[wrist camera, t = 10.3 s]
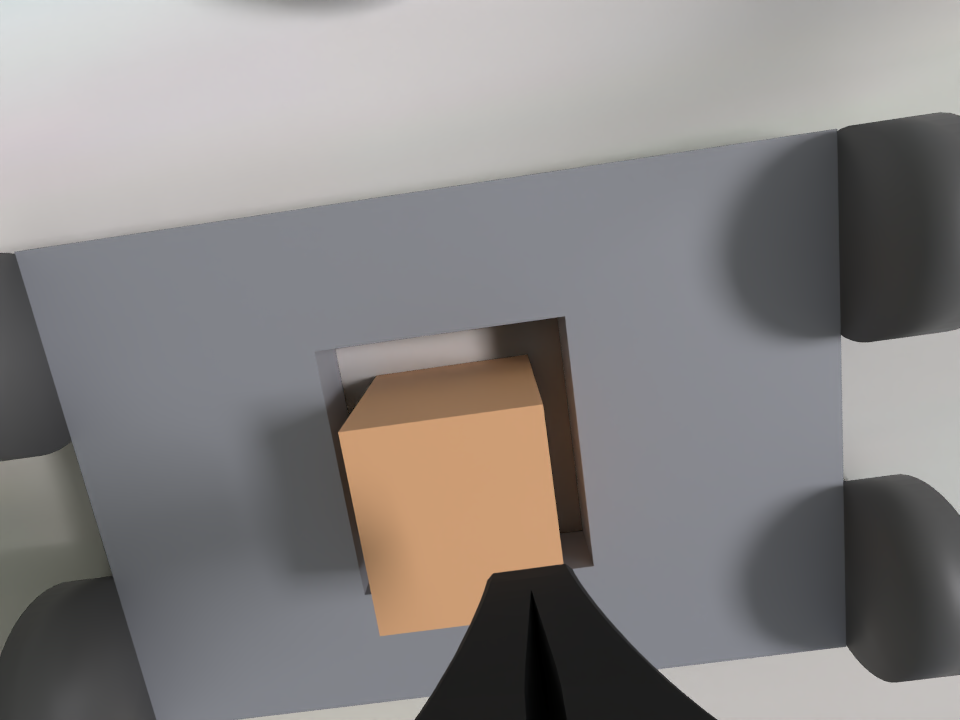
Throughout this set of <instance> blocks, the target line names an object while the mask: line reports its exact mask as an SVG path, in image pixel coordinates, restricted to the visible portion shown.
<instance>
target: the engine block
mask: <svg viewBox="0 0 960 720" xmlns="http://www.w3.org/2000/svg"><path fill="white" fill-rule="evenodd" d="M338 434H339V439H340V444H341V449H342V454H343V459H344V463H345V468H346V473H347V478H348V483H349V488H350V493H351V498H352V502H353V507H354V512H355V517H356V522H357V527H358V532H359V536H360V541H361V546H362V551H363V556H364V561H365V566H366V571H367V575H368V580H369V585H370V590H371V595H372V600H373V605H374V610H375V614H376V619H377V624H378V629H379V634H380V636H386V635H394V634H402V633H410V632H418V631H426V630H434V629H442V628H450V627H458V626H466V625H470V623H471V621H472V619H473V617H474V614H475V612H476V610H477V608H478V605H479V603H480V600H481V598H482V595H483V592H484V589H485V586H486V583H487V580H488V579H489V577H490V576H491V575H492V574H493V573H499V572H507V571H514V570H522V569H529V568H537V567H544V566H552V565H560V564H563V556H562V548H561V540H560V533H559V525H558V517H557V509H556V501H555V494H554V486H553V478H552V470H551V463H550V455H549V447H548V439H547V431H546V424H545V416H544V408H543V403H542V399H541V396H540V393H539V390H538V387H537V383H536V380H535V377H534V374H533V371H532V367H531V364H530V361H529V358H528V355H520V356H513V357H506V358H499V359H491V360H484V361H477V362H470V363H463V364H456V365H449V366H442V367H435V368H427V369H420V370H413V371H406V372H399V373H392V374H385V375H378V376H376V377H375V379H374V380H373V382H372V383H371V385H370V386H369V388H368V389H367V391H366V392H365V394H364V395H363V396H362V398H361V399H360V401H359V402H358V404H357V405H356V407H355V408H354V410H353V411H352V413H351V414H350V416H349V417H348V419H347V420H346V422H345V423H344V424H343V426H342V427H341V429H340V430H339V432H338Z"/></svg>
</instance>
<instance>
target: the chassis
mask: <svg viewBox="0 0 960 720" xmlns="http://www.w3.org/2000/svg"><path fill="white" fill-rule="evenodd" d="M556 317H558V326H559V334H560V343H561V351H562V360H563V368H564V377H565V385H566V394H567V402H568V411H569V419H570V428H571V436H572V445H573V453H574V462H575V470H576V479H577V487H578V495H579V504H580V512H581V521H582V529H583V531H577V532H569V533H562V534H560V540H561V548H562V556H563V564H566V565H568V566H569V567H570V568H572V569H573V571H574V573H575V575H576V576H577V578H578V579H579V581H580V583H581V584H582V585H583V587H584V588H585V590H586V591H587V593H588V594H589V595H590V596H591V598H592V599H593V600H594V602H595V603H596V604H597V606H598V607H599V608H600V609H601V610H602V612H603V613H604V614H605V615H606V617H607V618H608V619H609V620H610V621H611V622H612V623H613V624H614V625H615V627H616V628H617V629H618V630H619V631H620V632H621V633H622V634H623V636H624V637H625V638H626V639H627V640H628V641H629V642H630V643H631V644H632V645H633V646H634V647H635V648H636V649H637V650H638V651H639V652H640V653H641V654H642V655H643V656H644V657H645V658H646V659H647V660H648V661H649V662H650V663H651V664H652V665H653V666H654V667H655V668H656V669H663V668H672V667H680V666H688V665H697V664H705V663H713V662H722V661H730V660H738V659H747V658H755V657H763V656H772V655H780V654H788V653H797V652H805V651H813V650H822V649H830V648H838V647H846V645H847V647H848V648H849V650H850V651H851V652H852V654H853V655H854V656H855V657H856V659H857V660H858V661H859V662H860V663H861V664H862V665H863V666H864V667H865V668H866V669H867V670H868V671H869V672H870V673H872V674H873V675H875V676H876V677H878V678H880V679H882V680H884V681H887V682H904V681H912V680H921V679H929V678H938V677H946V676H955V675H960V515H959V514H958V513H957V512H956V510H955V509H954V508H953V506H952V505H951V504H950V503H949V502H948V501H947V500H946V499H945V498H944V497H943V496H942V495H941V494H940V493H939V492H937V491H936V490H935V489H934V488H933V487H931V486H930V485H928V484H927V483H925V482H924V481H922V480H920V479H918V478H915V477H912V476H909V475H902V474H899V475H890V476H882V477H874V478H866V479H859V480H851V481H843V435H842V378H841V335H842V336H844V337H845V338H848V339H850V340H852V341H856V342H874V341H881V340H888V339H896V338H903V337H910V336H918V335H925V334H932V333H939V332H947V331H951V330H956V329H958V328H960V116H959V115H955V114H952V113H941V112H940V113H932V114H925V115H919V116H912V117H905V118H898V119H892V120H885V121H878V122H872V123H865V124H858V125H852V126H847V127H845V128H842V129H840V130H839V131H837V129H833V130H826V131H819V132H813V133H806V134H799V135H793V136H786V137H779V138H773V139H766V140H759V141H753V142H746V143H739V144H733V145H726V146H719V147H712V148H706V149H699V150H692V151H686V152H679V153H672V154H666V155H659V156H652V157H646V158H639V159H632V160H626V161H619V162H612V163H605V164H599V165H592V166H585V167H579V168H572V169H565V170H559V171H552V172H545V173H539V174H532V175H525V176H519V177H512V178H505V179H498V180H492V181H485V182H478V183H472V184H465V185H458V186H452V187H445V188H438V189H432V190H425V191H418V192H412V193H405V194H398V195H391V196H385V197H378V198H371V199H365V200H358V201H351V202H345V203H338V204H331V205H325V206H318V207H311V208H305V209H298V210H291V211H284V212H278V213H271V214H264V215H258V216H251V217H244V218H238V219H231V220H224V221H218V222H211V223H204V224H198V225H191V226H184V227H177V228H171V229H164V230H157V231H151V232H144V233H137V234H131V235H124V236H117V237H111V238H104V239H97V240H91V241H84V242H77V243H71V244H64V245H57V246H50V247H44V248H37V249H30V250H24V251H17V252H15V254H12V253H0V461H6V460H13V459H21V458H28V457H35V456H42V455H46V454H50V453H53V452H55V451H57V450H60V449H61V448H63V447H64V446H66V445H67V444H68V443H70V442H71V441H72V443H73V446H74V450H75V453H76V456H77V460H78V463H79V466H80V470H81V473H82V476H83V479H84V483H85V486H86V489H87V493H88V496H89V499H90V503H91V506H92V509H93V512H94V516H95V519H96V522H97V526H98V529H99V532H100V535H101V539H102V542H103V545H104V549H105V552H106V555H107V559H108V562H109V565H110V568H111V572H112V575H113V576H109V577H101V578H94V579H86V580H78V581H71V582H64V583H61V584H58V585H55V586H53V587H52V588H50V589H48V590H46V591H45V592H44V593H42V594H41V595H40V596H38V597H37V598H36V599H35V600H34V601H33V602H32V603H31V604H30V605H29V606H28V607H27V609H26V610H25V611H24V612H23V614H22V615H21V616H20V618H19V619H18V621H17V622H16V624H15V625H14V627H13V629H12V631H11V633H10V635H9V637H8V639H7V641H6V643H5V646H4V648H3V650H2V653H1V656H0V720H238V719H246V718H255V717H263V716H271V715H280V714H288V713H296V712H305V711H313V710H321V709H330V708H338V707H346V706H355V705H363V704H371V703H380V702H388V701H396V700H405V699H413V698H421V697H430V696H431V694H432V693H433V691H434V689H435V688H436V686H437V684H438V683H439V681H440V679H441V678H442V676H443V674H444V673H445V671H446V669H447V668H448V666H449V664H450V662H451V661H452V659H453V657H454V655H455V653H456V652H457V650H458V647H459V645H460V643H461V641H462V639H463V637H464V635H465V633H466V631H467V629H468V627H469V625H466V626H458V627H450V628H442V629H434V630H426V631H418V632H410V633H402V634H394V635H386V636H380V634H379V629H378V624H377V619H376V614H375V610H374V605H373V600H372V595H371V590H370V585H369V580H368V575H367V571H366V566H365V561H364V556H363V551H362V546H361V541H360V536H359V532H358V527H357V522H356V517H355V512H354V507H353V502H352V498H351V493H350V488H349V483H348V478H347V473H346V468H345V463H344V459H343V454H342V449H341V444H340V439H339V434H338V432H339V430H340V429H341V427H342V426H343V424H344V423H345V422H346V420H347V419H348V411H347V406H346V401H345V396H344V391H343V386H342V381H341V376H340V371H339V366H338V361H337V356H336V351H335V349H336V348H343V347H350V346H357V345H364V344H371V343H378V342H386V341H393V340H400V339H407V338H414V337H421V336H428V335H435V334H442V333H449V332H456V331H464V330H471V329H478V328H485V327H492V326H499V325H506V324H513V323H520V322H527V321H534V320H542V319H549V318H556Z"/></svg>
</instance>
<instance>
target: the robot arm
mask: <svg viewBox="0 0 960 720" xmlns="http://www.w3.org/2000/svg"><path fill="white" fill-rule="evenodd" d="M415 720H717V719H715V718H714V717H713V716H711V715H710V714H709V713H707V712H706V711H705V710H704V709H702V708H701V707H700V706H699V705H697V704H696V703H695V702H694V701H693V700H691V699H690V698H689V697H688V696H686V695H685V694H684V693H683V692H682V691H680V690H679V689H678V688H677V687H676V686H675V685H674V684H672V683H671V682H670V681H669V680H668V679H667V678H666V677H665V676H664V675H662V674H661V673H660V672H659V671H658V670H657V669H656V668H655V667H654V666H653V665H652V664H651V663H650V662H649V661H648V660H647V659H646V658H645V657H644V656H643V655H642V654H641V653H640V652H639V651H638V650H637V649H636V648H635V647H634V646H633V645H632V644H631V643H630V642H629V641H628V640H627V639H626V638H625V637H624V636H623V634H622V633H621V632H620V631H619V630H618V629H617V628H616V627H615V625H614V624H613V623H612V622H611V621H610V620H609V619H608V618H607V617H606V615H605V614H604V613H603V612H602V610H601V609H600V608H599V607H598V606H597V604H596V603H595V602H594V600H593V599H592V598H591V596H590V595H589V594H588V593H587V591H586V590H585V588H584V587H583V585H582V584H581V583H580V581H579V579H578V578H577V576H576V575H575V573H574V571H573V569H572V568H570V567H569V566H568V565H566V564H560V565H552V566H544V567H537V568H529V569H522V570H514V571H507V572H499V573H493V574H492V575H491V576H490V577H489V579H488V580H487V583H486V586H485V589H484V592H483V595H482V598H481V600H480V603H479V605H478V608H477V610H476V612H475V614H474V617H473V619H472V621H471V623H470V625H469V627H468V629H467V631H466V633H465V635H464V637H463V639H462V641H461V643H460V645H459V647H458V650H457V652H456V653H455V655H454V657H453V659H452V661H451V662H450V664H449V666H448V668H447V669H446V671H445V673H444V674H443V676H442V678H441V679H440V681H439V683H438V684H437V686H436V688H435V689H434V691H433V693H432V694H431V696H430V698H429V699H428V701H427V702H426V704H425V705H424V707H423V708H422V710H421V711H420V713H419V714H418V716H417V717H416V719H415Z"/></svg>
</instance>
